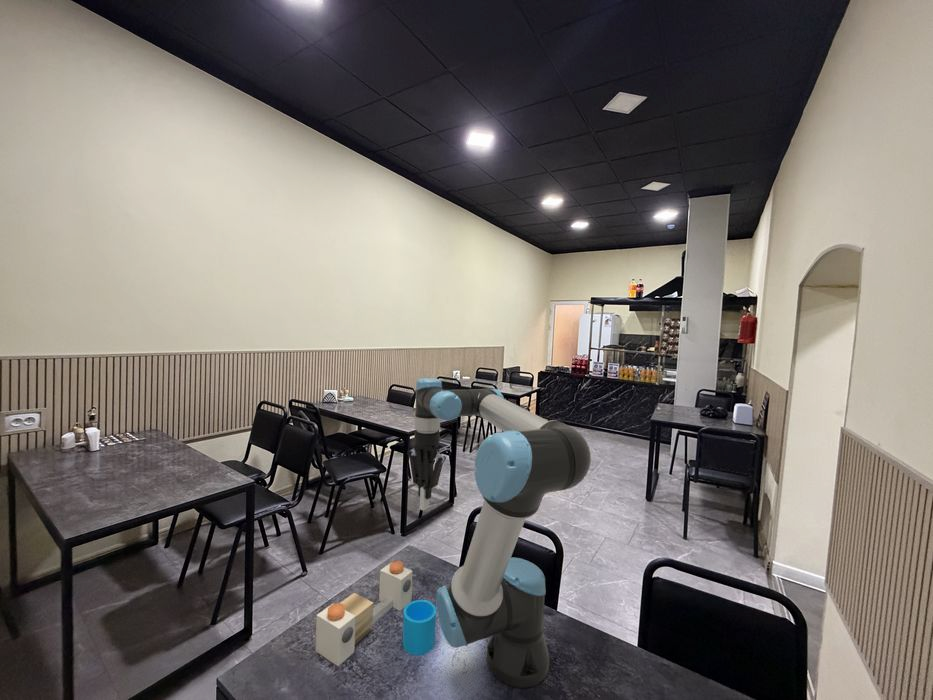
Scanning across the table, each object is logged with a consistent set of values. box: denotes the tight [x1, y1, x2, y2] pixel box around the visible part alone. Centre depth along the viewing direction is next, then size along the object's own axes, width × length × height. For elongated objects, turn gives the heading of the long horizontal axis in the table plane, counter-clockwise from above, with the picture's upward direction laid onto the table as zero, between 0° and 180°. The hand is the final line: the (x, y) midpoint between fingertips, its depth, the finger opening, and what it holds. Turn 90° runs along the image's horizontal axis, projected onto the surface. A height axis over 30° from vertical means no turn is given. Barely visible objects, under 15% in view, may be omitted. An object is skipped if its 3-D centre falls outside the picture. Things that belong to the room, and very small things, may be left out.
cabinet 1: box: [315, 603, 356, 667], centre depth 94 cm, size 8×5×9 cm, turn 59°
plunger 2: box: [389, 560, 404, 574], centre depth 113 cm, size 4×4×5 cm
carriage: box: [339, 592, 374, 645], centre depth 99 cm, size 7×6×8 cm
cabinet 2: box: [378, 561, 413, 612], centre depth 113 cm, size 8×5×9 cm, turn 59°
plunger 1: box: [327, 602, 345, 620], centre depth 94 cm, size 4×4×5 cm
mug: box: [402, 599, 437, 656], centre depth 100 cm, size 12×8×8 cm
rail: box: [373, 597, 393, 625], centre depth 103 cm, size 2×17×2 cm, turn 149°
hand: (424, 508), depth 115 cm, fingers closed
